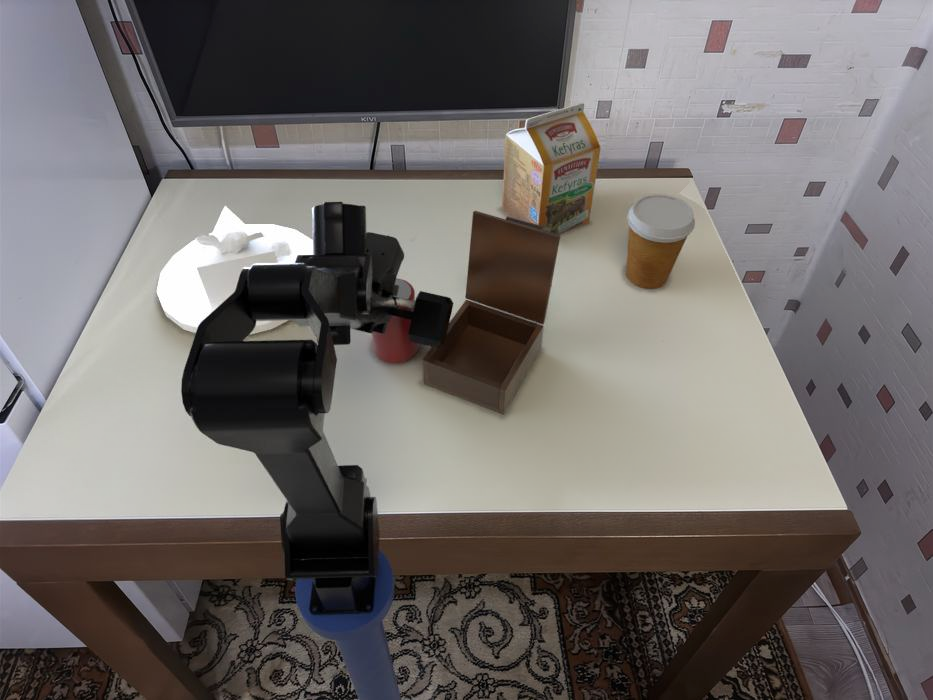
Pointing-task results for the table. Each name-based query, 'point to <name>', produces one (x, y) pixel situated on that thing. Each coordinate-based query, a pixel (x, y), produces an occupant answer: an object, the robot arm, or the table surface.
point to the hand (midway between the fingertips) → (397, 310)
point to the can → (397, 332)
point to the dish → (223, 267)
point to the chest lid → (511, 265)
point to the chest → (483, 356)
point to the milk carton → (551, 170)
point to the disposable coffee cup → (656, 238)
